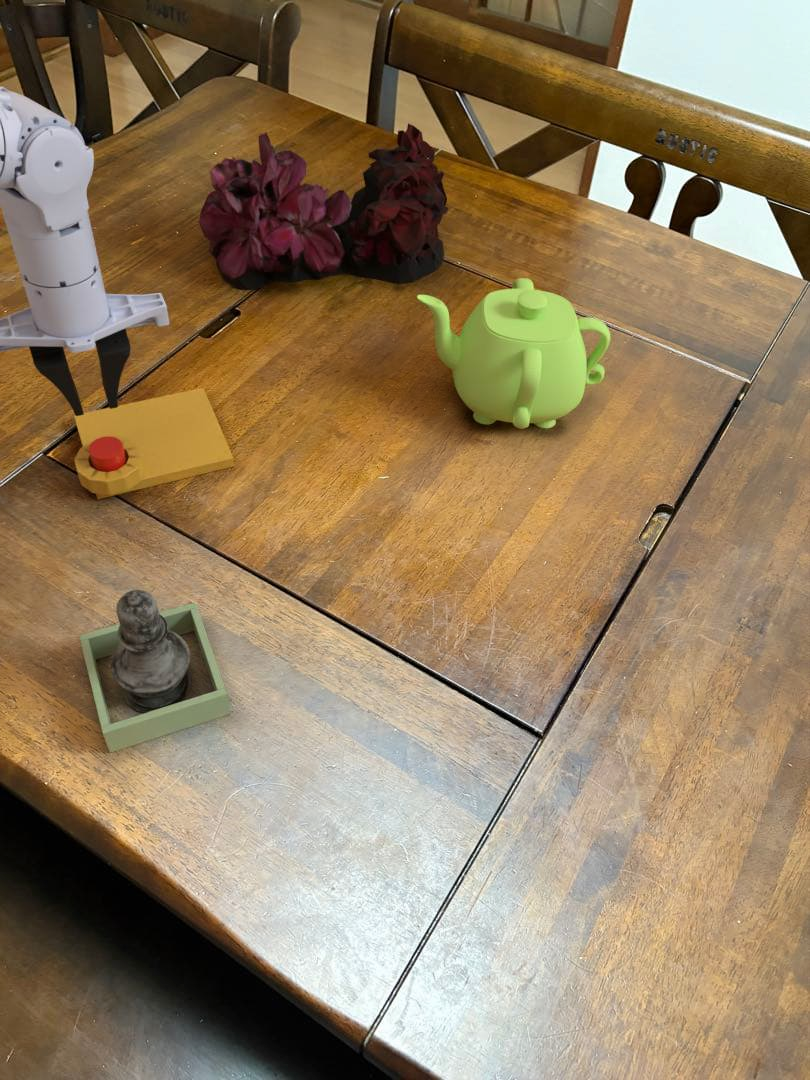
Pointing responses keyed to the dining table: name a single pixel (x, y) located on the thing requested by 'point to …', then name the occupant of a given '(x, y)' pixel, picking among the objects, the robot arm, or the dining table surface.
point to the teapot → (519, 355)
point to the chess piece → (149, 655)
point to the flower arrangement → (326, 218)
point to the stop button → (107, 454)
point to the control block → (154, 442)
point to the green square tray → (166, 717)
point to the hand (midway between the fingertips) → (94, 404)
